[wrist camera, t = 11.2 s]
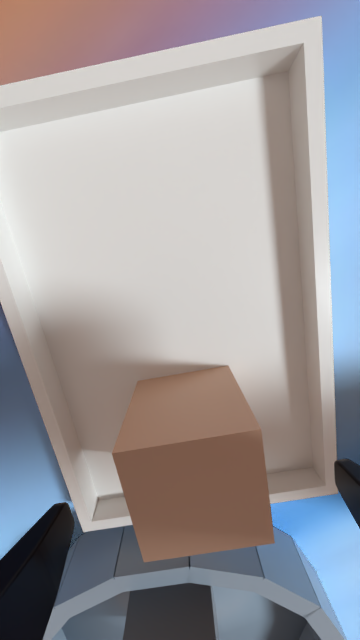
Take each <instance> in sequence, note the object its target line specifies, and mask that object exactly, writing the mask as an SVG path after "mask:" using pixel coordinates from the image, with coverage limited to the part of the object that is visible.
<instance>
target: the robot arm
mask: <svg viewBox="0 0 360 640" xmlns="http://www.w3.org/2000/svg"><path fill="white" fill-rule="evenodd" d="M334 475H335V484H336V486H337V489H338V491H339V492H340V494H341V496H342V498H343V499H344V501H345V503H346V505H347V507H348V508H349V510H350V512H351V514H352V516H353V517H354V519H355V521H356V523H357V524H358V526H359V528H360V466H359V465H358V464H356V463H354V462H353V461H351V460H349V459H342V460H336V461H335V462H334ZM73 530H74V518H73V516H72V513H71V510H70V507H69V505H68V503H66V502H64V503H57V504H54V505H53V506H52V507H51V508H50V509H49V510H48V511H47V512H46V513H45V514H44V515H43V516H42V517H41V518H40V519H39V520H38V521H37V522H36V523H35V525H34V526H33V527H32V528H31V529H30V530H29V531H28V532H27V533H26V534H25V535H24V536H23V537H22V538H21V539H20V540H19V541H18V542H17V543H16V544H15V545H14V546H13V547H12V548H11V549H10V551H9V552H8V553H7V554H6V555H5V556H4V557H3V558H2V559H1V560H0V640H43V637H44V634H45V631H46V628H47V625H48V622H49V619H50V616H51V613H52V610H53V607H54V603H55V600H56V597H57V594H58V590H59V586H60V583H61V579H62V575H63V571H64V567H65V563H66V559H67V555H68V551H69V546H70V542H71V538H72V534H73Z"/></svg>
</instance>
